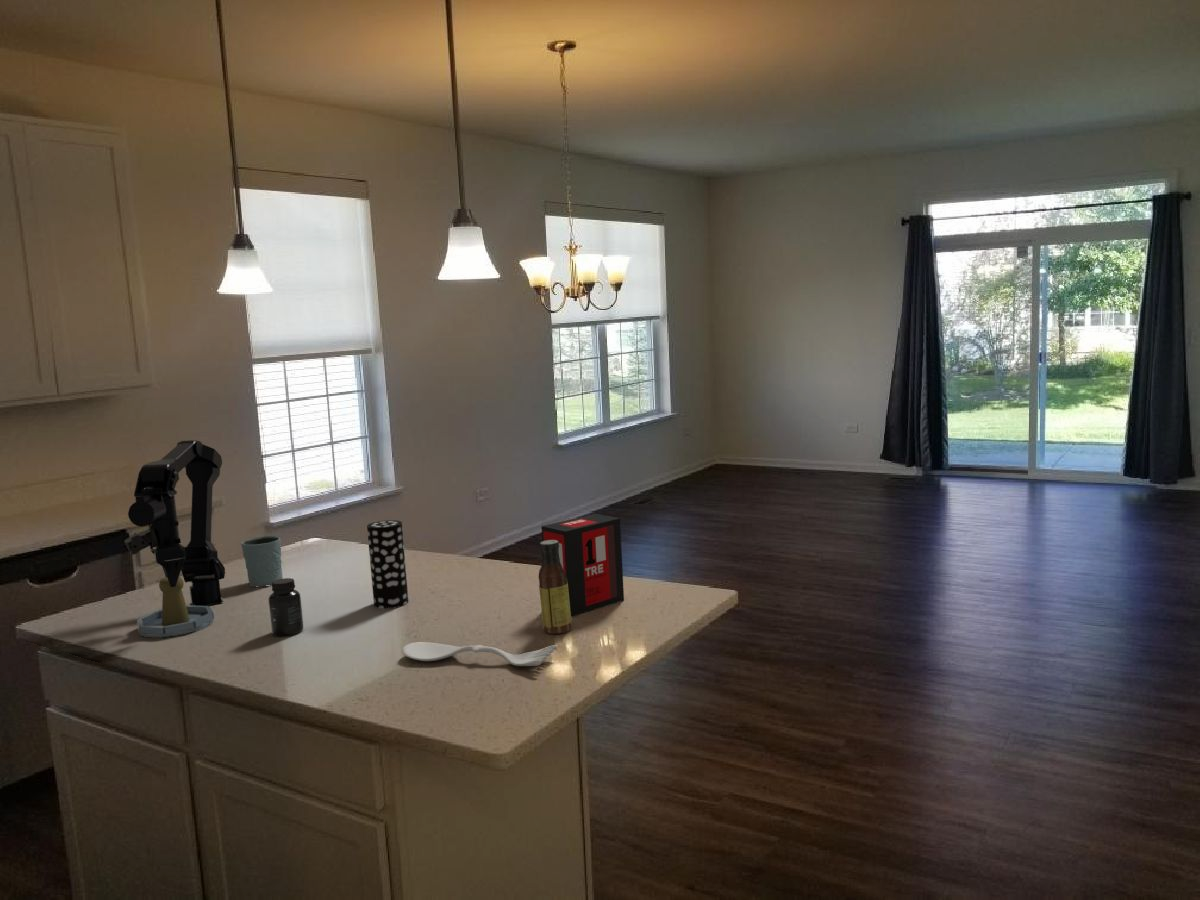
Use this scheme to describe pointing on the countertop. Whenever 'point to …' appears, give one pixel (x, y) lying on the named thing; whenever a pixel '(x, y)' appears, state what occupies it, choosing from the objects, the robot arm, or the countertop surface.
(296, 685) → the countertop surface
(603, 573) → the cleaning product box
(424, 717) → the countertop surface
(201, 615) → the dish
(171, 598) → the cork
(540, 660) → the white spork
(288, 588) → the supplement bottle
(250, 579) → the teal cup
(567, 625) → the sauce bottle
